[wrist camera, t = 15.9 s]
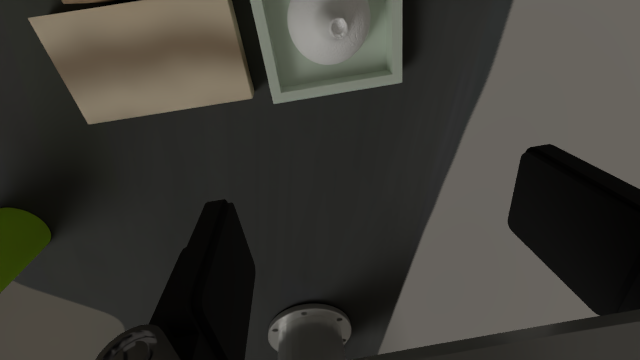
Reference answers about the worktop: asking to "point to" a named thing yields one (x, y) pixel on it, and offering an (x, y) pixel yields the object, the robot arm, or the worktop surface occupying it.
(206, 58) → the board
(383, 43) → the dish
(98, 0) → the block
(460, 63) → the worktop surface
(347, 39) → the garlic bulb
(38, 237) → the soap dispenser
